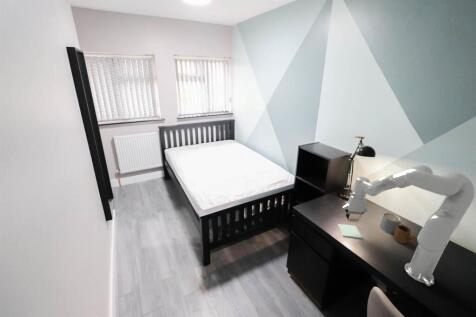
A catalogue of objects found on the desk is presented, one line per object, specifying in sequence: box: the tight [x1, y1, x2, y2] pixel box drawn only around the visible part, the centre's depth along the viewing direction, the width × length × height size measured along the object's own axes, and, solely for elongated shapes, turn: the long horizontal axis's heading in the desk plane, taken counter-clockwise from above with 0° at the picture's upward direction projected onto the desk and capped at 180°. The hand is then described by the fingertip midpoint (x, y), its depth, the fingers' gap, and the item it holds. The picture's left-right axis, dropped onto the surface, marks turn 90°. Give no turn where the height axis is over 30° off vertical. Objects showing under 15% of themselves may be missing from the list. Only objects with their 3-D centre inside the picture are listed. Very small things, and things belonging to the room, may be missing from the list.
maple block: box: [347, 212, 361, 223], centre depth 146 cm, size 6×6×6 cm
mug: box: [393, 224, 417, 244], centre depth 140 cm, size 12×8×9 cm, turn 18°
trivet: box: [337, 223, 363, 239], centre depth 151 cm, size 12×12×1 cm
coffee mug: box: [379, 212, 406, 234], centre depth 152 cm, size 13×10×10 cm
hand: (352, 218), depth 147 cm, fingers closed on maple block, 6 cm apart
